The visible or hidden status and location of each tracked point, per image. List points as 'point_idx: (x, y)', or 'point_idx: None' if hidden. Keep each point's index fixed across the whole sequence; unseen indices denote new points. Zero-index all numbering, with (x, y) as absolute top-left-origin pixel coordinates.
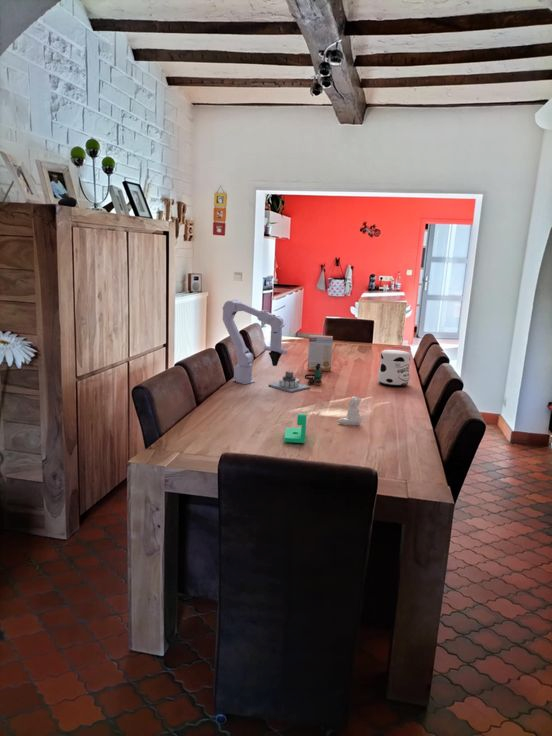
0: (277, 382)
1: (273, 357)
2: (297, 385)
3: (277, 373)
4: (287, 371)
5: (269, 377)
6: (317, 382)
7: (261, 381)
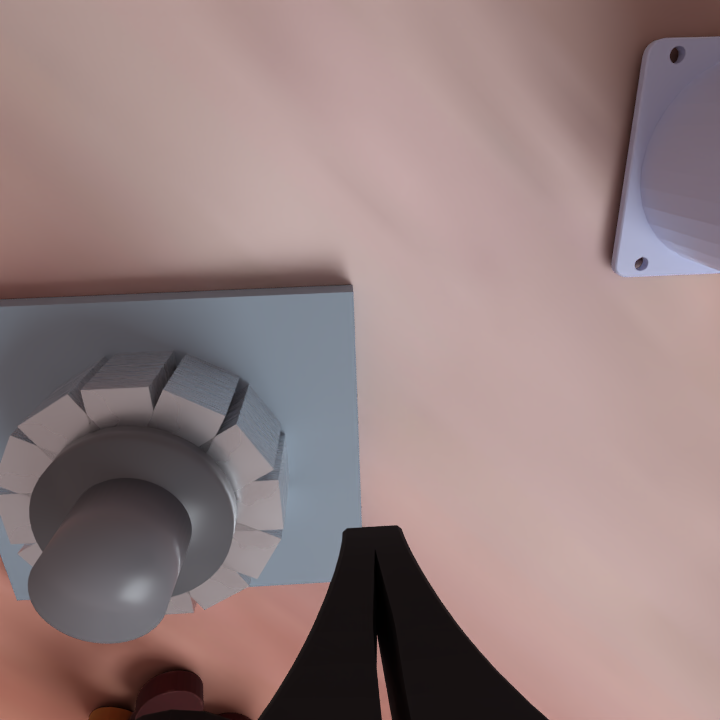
0: (358, 444)
1: (348, 689)
2: None
3: (674, 694)
4: (148, 592)
5: (633, 551)
6: None
7: (581, 370)
